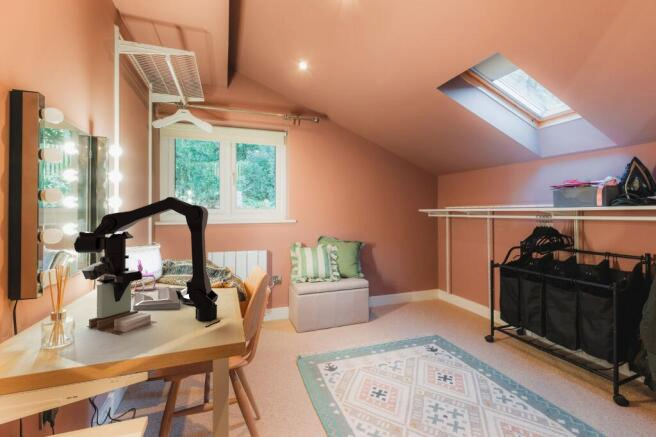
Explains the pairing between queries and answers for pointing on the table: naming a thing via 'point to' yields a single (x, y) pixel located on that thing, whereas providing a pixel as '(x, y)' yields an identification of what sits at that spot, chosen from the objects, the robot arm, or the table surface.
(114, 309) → the green panel
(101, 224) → the robot arm
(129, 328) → the offcut lower
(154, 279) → the toy chair
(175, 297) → the emblem
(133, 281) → the bracelet
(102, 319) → the rack
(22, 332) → the table surface
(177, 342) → the table surface
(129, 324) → the offcut upper
